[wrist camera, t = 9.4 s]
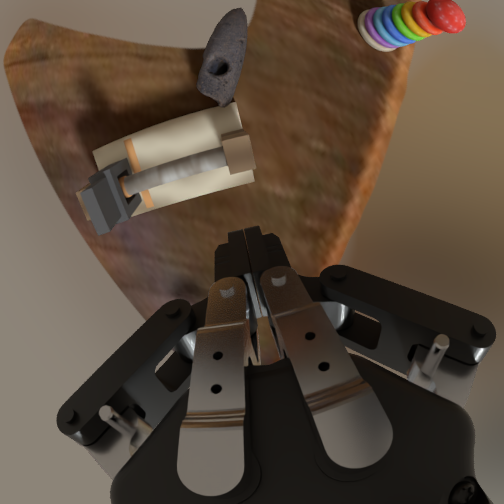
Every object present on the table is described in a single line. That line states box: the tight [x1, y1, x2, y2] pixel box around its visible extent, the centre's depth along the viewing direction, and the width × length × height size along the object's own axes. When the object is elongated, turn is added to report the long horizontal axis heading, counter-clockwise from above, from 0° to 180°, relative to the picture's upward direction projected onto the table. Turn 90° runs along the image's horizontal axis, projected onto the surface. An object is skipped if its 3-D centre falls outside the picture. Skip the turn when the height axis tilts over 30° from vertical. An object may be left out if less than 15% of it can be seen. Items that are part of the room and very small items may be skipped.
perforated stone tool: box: [196, 8, 247, 108], centre depth 27 cm, size 15×5×7 cm, turn 165°
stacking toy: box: [358, 0, 466, 51], centre depth 20 cm, size 8×8×19 cm
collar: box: [80, 158, 142, 235], centre depth 28 cm, size 6×3×10 cm, turn 12°
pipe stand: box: [76, 102, 256, 220], centre depth 33 cm, size 12×22×10 cm, turn 102°
